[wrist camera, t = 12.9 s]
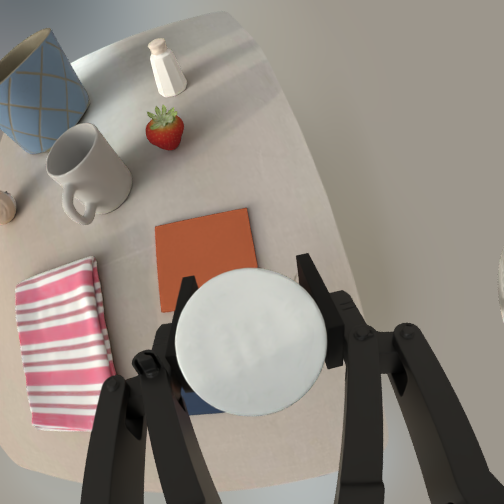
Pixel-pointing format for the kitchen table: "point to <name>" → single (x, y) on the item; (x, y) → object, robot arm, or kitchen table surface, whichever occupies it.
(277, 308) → the pill bottle
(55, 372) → the dish towel
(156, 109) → the fruit
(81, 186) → the mug
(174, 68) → the pepper shaker
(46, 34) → the planter
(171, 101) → the kitchen table surface
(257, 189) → the kitchen table surface
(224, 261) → the terracotta mat
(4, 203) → the garlic bulb
